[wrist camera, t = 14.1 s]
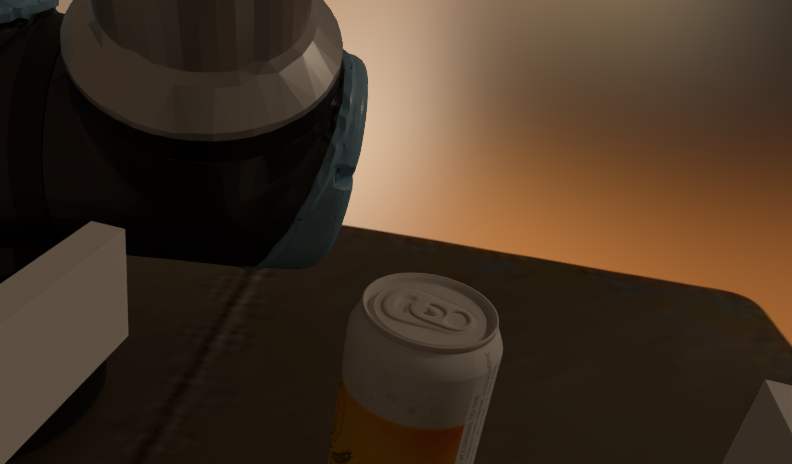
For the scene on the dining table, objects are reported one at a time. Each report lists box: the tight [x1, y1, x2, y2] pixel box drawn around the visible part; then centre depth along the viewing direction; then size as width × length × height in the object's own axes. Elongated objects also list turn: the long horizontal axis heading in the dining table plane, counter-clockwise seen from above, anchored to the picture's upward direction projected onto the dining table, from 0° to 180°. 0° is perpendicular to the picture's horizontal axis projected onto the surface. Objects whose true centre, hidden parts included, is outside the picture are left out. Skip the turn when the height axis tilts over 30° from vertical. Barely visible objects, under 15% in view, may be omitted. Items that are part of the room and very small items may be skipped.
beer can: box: [327, 273, 503, 464], centre depth 29 cm, size 6×6×15 cm
